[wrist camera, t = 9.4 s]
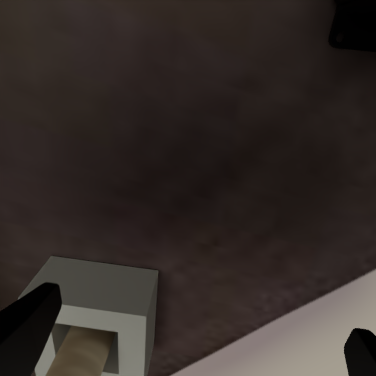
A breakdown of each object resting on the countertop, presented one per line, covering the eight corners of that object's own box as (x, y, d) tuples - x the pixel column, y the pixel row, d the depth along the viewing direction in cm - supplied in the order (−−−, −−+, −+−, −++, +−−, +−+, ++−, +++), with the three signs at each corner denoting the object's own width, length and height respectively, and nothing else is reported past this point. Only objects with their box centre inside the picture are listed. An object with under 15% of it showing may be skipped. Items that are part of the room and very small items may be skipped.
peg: (125, 290, 25) (81, 406, 17) (125, 318, 27) (85, 436, 19) (85, 284, 25) (23, 397, 17) (87, 312, 27) (32, 428, 19)
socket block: (158, 270, 24) (146, 316, 20) (154, 342, 28) (143, 392, 24) (51, 255, 24) (17, 298, 20) (62, 328, 28) (36, 376, 24)
